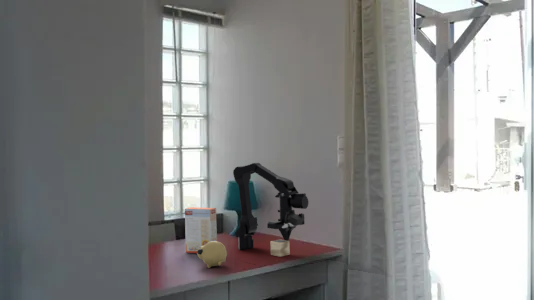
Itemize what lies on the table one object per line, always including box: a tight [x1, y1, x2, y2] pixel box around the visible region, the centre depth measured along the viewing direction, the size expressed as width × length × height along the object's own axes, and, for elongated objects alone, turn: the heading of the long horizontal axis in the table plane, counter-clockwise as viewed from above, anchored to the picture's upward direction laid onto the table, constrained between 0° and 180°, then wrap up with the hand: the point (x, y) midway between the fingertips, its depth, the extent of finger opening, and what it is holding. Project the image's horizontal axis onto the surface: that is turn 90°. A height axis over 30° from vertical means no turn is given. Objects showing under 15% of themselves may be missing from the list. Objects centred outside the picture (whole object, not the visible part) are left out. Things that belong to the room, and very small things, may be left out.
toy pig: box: [196, 240, 228, 269], centre depth 207 cm, size 10×12×11 cm
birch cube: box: [269, 239, 291, 257], centre depth 224 cm, size 6×6×6 cm
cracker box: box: [184, 206, 218, 254], centre depth 235 cm, size 14×6×21 cm, turn 65°
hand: (286, 242), depth 227 cm, fingers closed
